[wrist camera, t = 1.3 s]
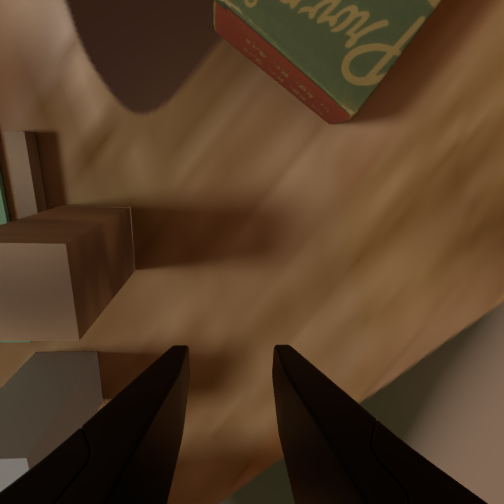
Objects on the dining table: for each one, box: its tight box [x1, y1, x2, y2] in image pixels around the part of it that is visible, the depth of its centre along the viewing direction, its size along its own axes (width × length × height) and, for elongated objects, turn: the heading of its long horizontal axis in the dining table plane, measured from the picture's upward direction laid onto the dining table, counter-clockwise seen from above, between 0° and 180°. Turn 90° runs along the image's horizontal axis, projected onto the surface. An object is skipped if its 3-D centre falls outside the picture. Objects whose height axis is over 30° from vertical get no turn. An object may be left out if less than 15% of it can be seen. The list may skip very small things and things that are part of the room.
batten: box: [4, 131, 47, 219], centre depth 19 cm, size 12×1×1 cm, turn 178°
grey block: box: [0, 352, 103, 492], centre depth 19 cm, size 4×4×8 cm
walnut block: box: [0, 205, 136, 341], centre depth 16 cm, size 4×4×8 cm
